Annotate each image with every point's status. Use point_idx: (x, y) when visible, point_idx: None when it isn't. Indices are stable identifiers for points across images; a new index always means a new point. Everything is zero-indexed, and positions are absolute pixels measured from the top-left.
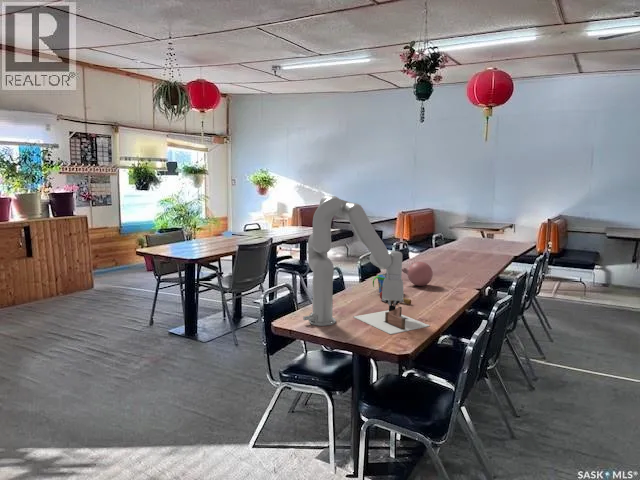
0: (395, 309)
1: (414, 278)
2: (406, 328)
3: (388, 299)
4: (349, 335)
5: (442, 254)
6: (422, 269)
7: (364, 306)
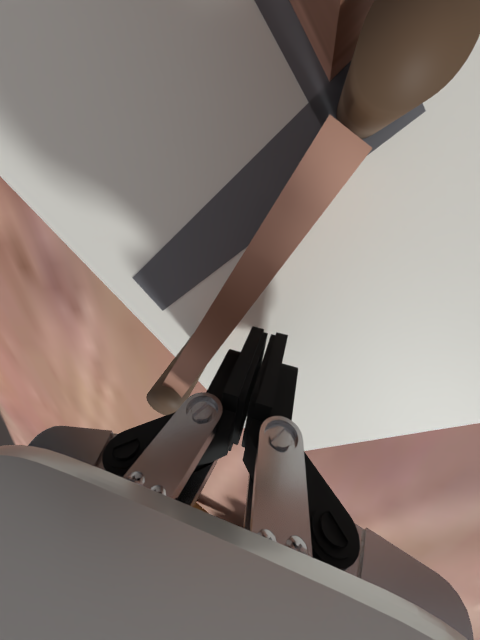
0: (206, 340)
1: None
2: None
3: (307, 581)
4: None
5: None
6: None
7: (439, 536)
